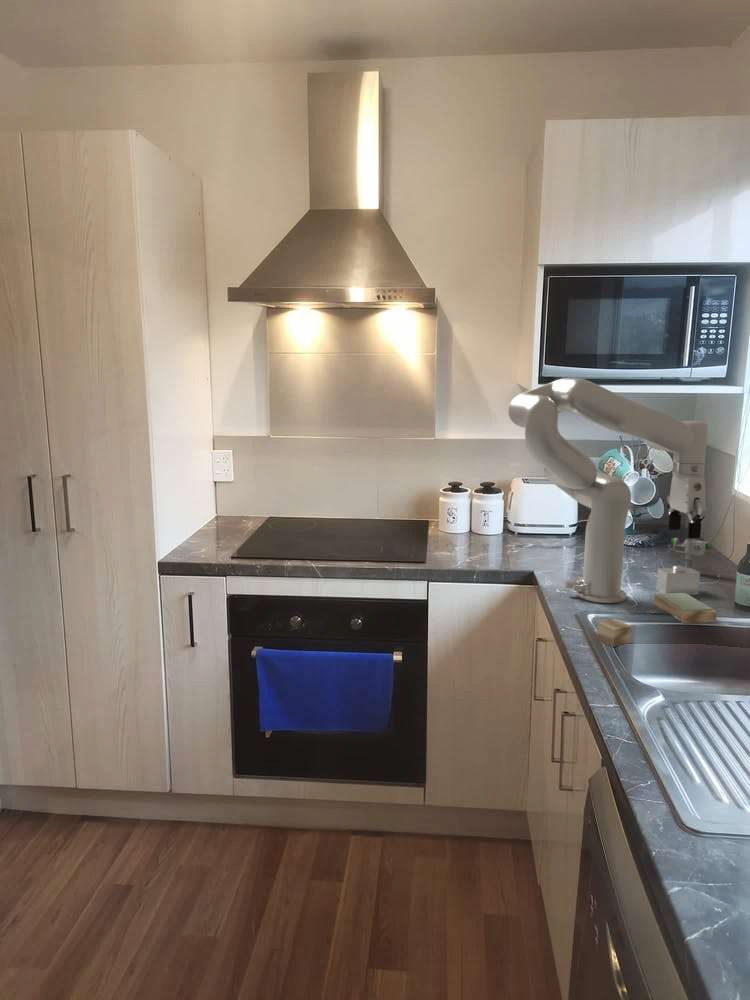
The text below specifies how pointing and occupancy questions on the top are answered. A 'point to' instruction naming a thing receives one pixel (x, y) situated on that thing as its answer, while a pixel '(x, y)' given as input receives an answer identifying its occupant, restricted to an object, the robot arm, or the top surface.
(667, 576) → the housing
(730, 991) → the top surface
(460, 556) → the top surface
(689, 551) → the mechanical component
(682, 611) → the wooden block
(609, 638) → the ash block
